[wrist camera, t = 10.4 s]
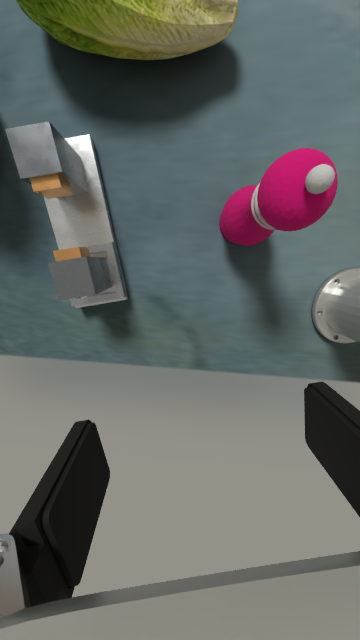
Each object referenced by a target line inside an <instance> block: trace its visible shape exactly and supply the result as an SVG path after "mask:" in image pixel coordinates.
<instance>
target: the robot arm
mask: <svg viewBox="0 0 360 640" xmlns="http://www.w3.org/2000/svg"><path fill="white" fill-rule="evenodd" d="M312 318H313V322H314V325H315V327H316V329H317V330H318V332H319V333H320V334H322V335H323V336H324V337H326V338H327V339H329V340H331V341H334V342H338V343H353V342H359V343H360V268H352V269H346V270H344V271H341V272H339V273H337V274H335V275H333V276H332V277H331V278H329V279H328V280H327V281H326V282H325V283H324V284H323V285H322V286H321V288H320V289H319V291H318V292H317V294H316V297H315V299H314V302H313V306H312ZM304 395H305V397H304V401H305V439H306V443H307V445H308V447H309V448H310V450H311V451H312V452H313V454H314V455H315V456H316V458H317V459H318V461H319V462H320V463H321V465H322V466H323V467H324V469H325V470H326V472H327V473H328V474H329V476H330V477H331V478H332V480H333V481H334V482H335V484H336V485H337V487H338V488H339V489H340V491H341V492H342V493H343V495H344V496H345V497H346V499H347V500H348V502H349V503H350V504H351V506H352V507H353V509H354V510H355V511H356V513H357V514H358V515H359V517H360V411H359V410H358V409H357V408H355V407H354V406H353V405H352V404H350V403H349V402H348V401H347V400H346V399H344V398H343V397H342V396H340V395H339V394H338V393H337V392H336V391H334V390H333V389H332V388H331V387H329V386H328V385H327V384H326V383H324V382H317V383H311V384H308V386H307V388H305V390H304ZM109 478H110V470H109V467H108V463H107V460H106V457H105V454H104V450H103V447H102V444H101V441H100V437H99V434H98V431H97V428H96V425H95V423H92V422H91V421H90V420H85V421H79V422H75V424H74V425H73V427H72V428H71V430H70V432H69V434H68V435H67V437H66V439H65V440H64V442H63V444H62V445H61V447H60V449H59V450H58V452H57V454H56V456H55V457H54V459H53V461H52V462H51V464H50V466H49V467H48V469H47V471H46V472H45V474H44V476H43V477H42V479H41V481H40V482H39V484H38V486H37V487H36V489H35V491H34V493H33V494H32V496H31V498H30V499H29V501H28V503H27V505H26V506H25V508H24V509H23V511H22V513H21V515H20V516H19V518H18V519H17V521H16V523H15V525H14V526H13V528H12V530H11V531H10V533H9V534H0V640H360V551H358V552H352V553H346V554H339V555H332V556H325V557H318V558H313V559H305V560H299V561H292V562H286V563H279V564H272V565H266V566H260V567H253V568H247V569H241V570H235V571H229V572H222V573H215V574H209V575H203V576H197V577H190V578H184V579H178V580H172V581H166V582H160V583H154V584H148V585H141V586H135V587H129V588H123V589H118V590H111V591H105V592H100V593H94V594H89V595H84V596H78V597H73V598H71V597H72V594H73V590H74V587H75V586H76V585H78V584H79V583H80V581H81V578H82V574H83V571H84V567H85V564H86V560H87V556H88V553H89V549H90V546H91V542H92V539H93V535H94V532H95V528H96V525H97V521H98V517H99V514H100V510H101V507H102V503H103V500H104V496H105V493H106V489H107V486H108V482H109Z"/></svg>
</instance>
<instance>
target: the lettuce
mask: <svg viewBox="0 0 360 640" xmlns="http://www.w3.org/2000/svg"><path fill="white" fill-rule="evenodd" d="M16 1H17V2H18V4H19V6H20V7H21V9H22V11H23V12H24V13H25V14H26V15H27V16H28V17H29V18H30V19H31V20H32V21H33V22H35V23H36V24H37V25H38V26H40V27H41V28H42V29H43V30H45V31H46V32H47V33H48V34H50V35H51V36H52V37H53V38H54V39H56V40H57V41H58V42H59V43H61V44H64V45H67V46H69V47H72V48H75V49H77V50H80V51H84V52H89V53H94V54H100V55H105V56H109V57H114V58H122V59H136V60H159V59H170V58H175V57H179V56H183V55H187V54H190V53H193V52H196V51H199V50H202V49H205V48H207V47H210V46H212V45H215V44H217V43H219V42H220V41H221V40H223V39H225V38H226V37H228V36H229V35H230V32H231V30H232V27H233V25H234V22H235V20H236V17H237V15H238V0H16Z"/></svg>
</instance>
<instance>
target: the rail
mask: <svg viewBox="0 0 360 640" xmlns="http://www.w3.org/2000/svg"><path fill="white" fill-rule="evenodd" d="M5 130H6V134H7V137H8V140H9V143H10V147H11V150H12V153H13V156H14V159H15V163H16V166H17V169H18V172H19V176H20V179H22V180H24V181H26V182H27V183H29V184H31V185H32V188H33V191H34V192H35V193H37V194H39V195H41V196H43V197H44V199H45V203H46V206H47V210H48V213H49V217H50V220H51V224H52V227H53V230H54V234H55V237H56V241H57V244H58V248H59V250H62V249H68V248H75V247H84V248H88V250H89V254H90V257H106V261H107V265H108V269H109V274H110V278H111V282H112V287H111V288H109V289H107V290H105V291H102V292H100V293H98V294H96V295H90V296H84V297H78V298H72V299H70V302H71V305H72V306H76V308H80V307H86V306H92V305H98V304H104V303H109V302H115V301H121V300H127V299H128V294H127V289H126V285H125V280H124V276H123V271H122V267H121V262H120V258H119V254H118V249H117V245H116V240H115V236H114V231H113V227H112V222H111V218H110V214H109V209H108V205H107V200H106V196H105V191H104V187H103V182H102V178H101V174H100V169H99V165H98V160H97V156H96V151H95V147H94V142H93V139H92V138H91V136H90V135H89V134H88V135H83V136H77V137H71V138H65V139H64V138H63V137H62V136H61V134H60V133H59V132H58V131H57V130H56V129H55V128H54V127H53V125H52V124H51V123H50V122H43V123H37V124H32V125H26V126H20V127H14V128H8V129H5Z"/></svg>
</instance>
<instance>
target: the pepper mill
mask: <svg viewBox="0 0 360 640" xmlns="http://www.w3.org/2000/svg"><path fill="white" fill-rule="evenodd" d="M336 190H337V172H336V169H335V166H334V164H333V162H332V161H331V160H330V158H329V157H328V156H327V155H325V154H324V153H323V152H321V151H318V150H316V149H311V148H301V149H297V150H294V151H291V152H288V153H286V154H284V155H283V156H281V157H280V158H278V159H277V160H276V161H275V162H274V163H273V164H272V165H271V166H270V167H269V168H268V169H267V171H266V172H265V174H264V176H263V177H262V179H261V182H260V183H259V184H258V185H251V186H247V187H244V188H242V189H240V190H238V191H237V192H235V193H234V194H233V195H232V196H231V197H230V198H229V199H228V201H227V202H226V204H225V206H224V209H223V212H222V214H221V216H220V230H221V232H222V234H223V236H224V237H225V238H226V239H227V240H228V241H230V242H232V243H235V244H239V245H243V246H251V245H255V244H258V243H260V242H262V241H263V240H265V239H266V238H268V237H269V236H270V235H271V233H272V232H273V231H274V230H282V231H296V230H300V229H303V228H305V227H307V226H309V225H311V224H313V223H314V222H316V221H317V220H318V219H320V218H321V217H322V216H323V215H324V214H325V212H326V211H327V210H328V208H329V207H330V206H331V204H332V202H333V200H334V197H335V194H336Z"/></svg>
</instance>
